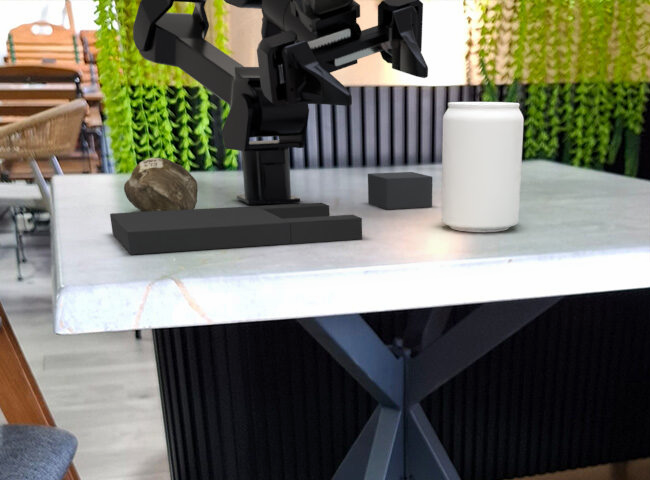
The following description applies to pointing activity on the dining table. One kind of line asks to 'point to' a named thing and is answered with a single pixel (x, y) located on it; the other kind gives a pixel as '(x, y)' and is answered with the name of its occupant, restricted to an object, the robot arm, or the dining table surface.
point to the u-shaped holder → (231, 227)
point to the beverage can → (481, 165)
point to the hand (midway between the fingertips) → (389, 86)
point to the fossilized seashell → (161, 186)
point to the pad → (400, 190)
